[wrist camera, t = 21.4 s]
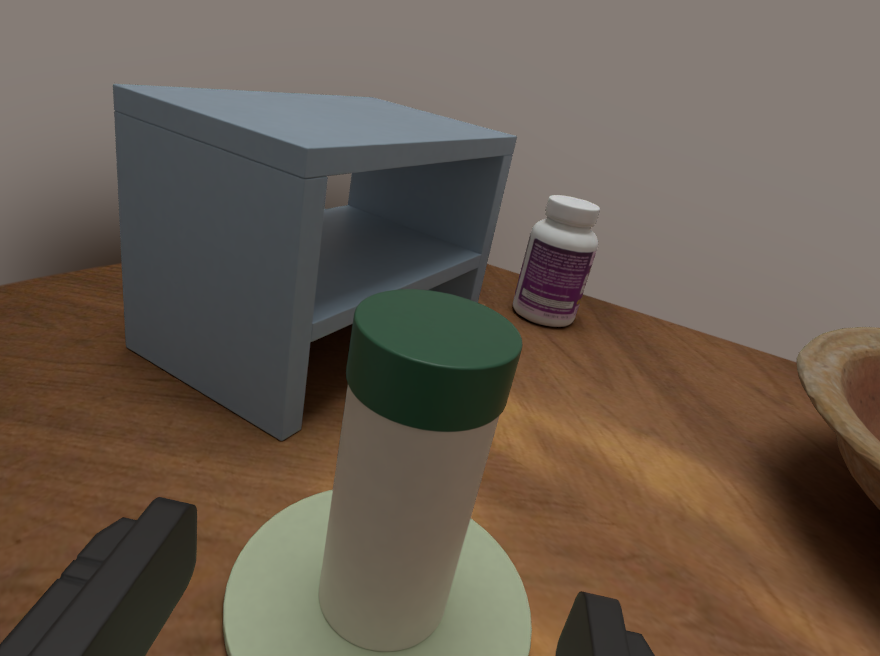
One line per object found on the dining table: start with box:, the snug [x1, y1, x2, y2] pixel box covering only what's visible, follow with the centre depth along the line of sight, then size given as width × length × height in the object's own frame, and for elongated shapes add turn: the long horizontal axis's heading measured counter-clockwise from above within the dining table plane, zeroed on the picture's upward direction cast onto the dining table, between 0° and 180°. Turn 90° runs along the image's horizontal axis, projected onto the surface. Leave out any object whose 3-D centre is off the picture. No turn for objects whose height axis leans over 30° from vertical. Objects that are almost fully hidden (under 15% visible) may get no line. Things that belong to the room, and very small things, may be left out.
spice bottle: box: [319, 289, 522, 652], centre depth 19 cm, size 5×5×11 cm
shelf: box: [113, 84, 517, 441], centre depth 36 cm, size 12×20×14 cm, turn 149°
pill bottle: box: [513, 195, 600, 327], centre depth 47 cm, size 5×5×10 cm
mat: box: [223, 490, 532, 656], centre depth 21 cm, size 11×11×1 cm
